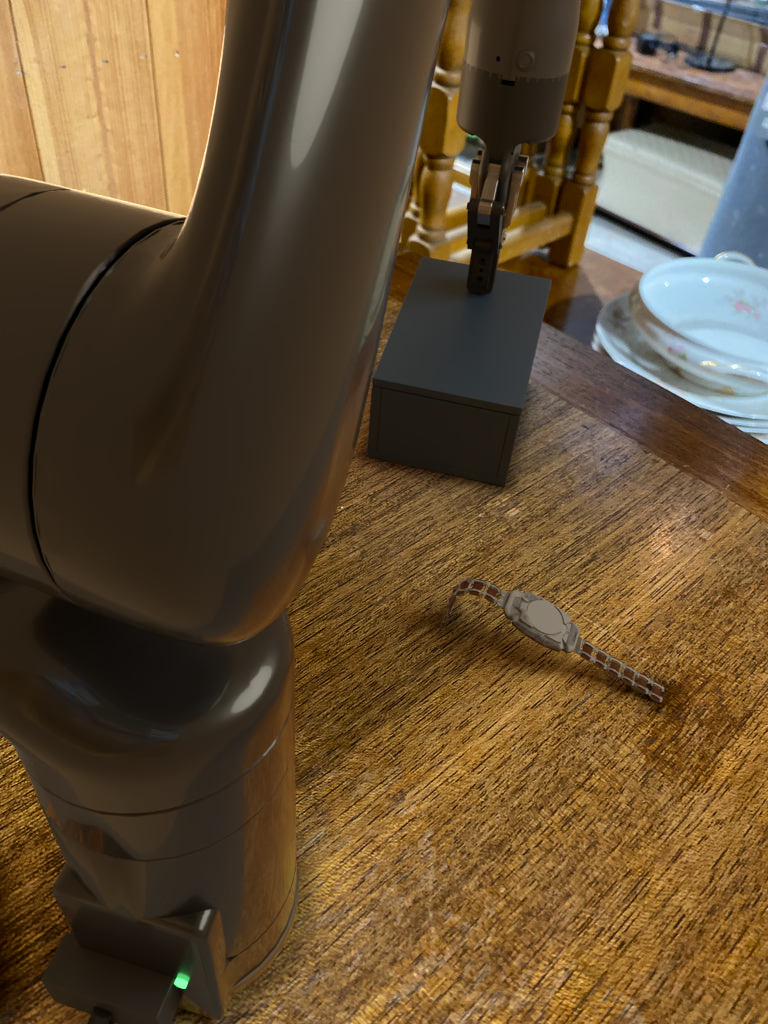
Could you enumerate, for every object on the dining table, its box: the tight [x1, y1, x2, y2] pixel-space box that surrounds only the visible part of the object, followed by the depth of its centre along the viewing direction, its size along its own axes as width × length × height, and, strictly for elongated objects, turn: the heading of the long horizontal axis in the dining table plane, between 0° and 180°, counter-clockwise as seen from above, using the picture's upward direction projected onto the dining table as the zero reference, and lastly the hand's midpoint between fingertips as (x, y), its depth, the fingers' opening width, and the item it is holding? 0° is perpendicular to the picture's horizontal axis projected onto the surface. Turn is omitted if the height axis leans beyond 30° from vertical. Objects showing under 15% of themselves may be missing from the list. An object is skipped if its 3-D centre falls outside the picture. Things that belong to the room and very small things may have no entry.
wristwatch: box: [442, 578, 665, 704], centre depth 50 cm, size 4×14×5 cm, turn 67°
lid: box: [371, 256, 553, 417], centre depth 64 cm, size 16×12×1 cm
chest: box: [366, 325, 543, 487], centre depth 67 cm, size 16×12×7 cm
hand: (479, 288), depth 66 cm, fingers closed
